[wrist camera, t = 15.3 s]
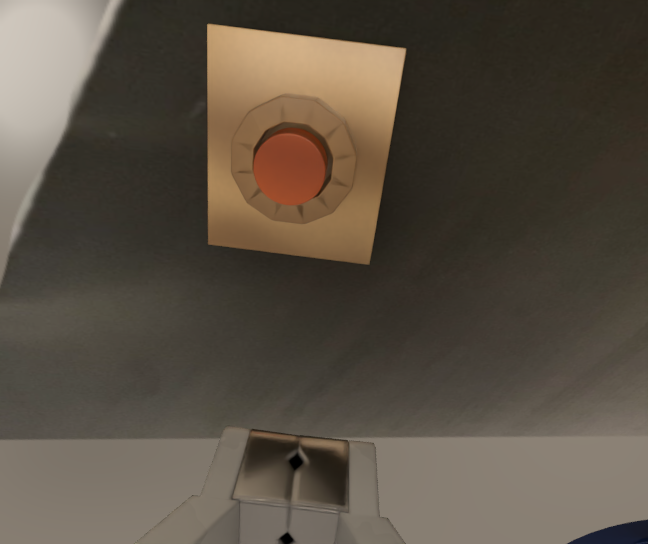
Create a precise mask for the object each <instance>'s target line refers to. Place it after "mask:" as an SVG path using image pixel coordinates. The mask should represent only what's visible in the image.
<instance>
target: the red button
mask: <svg viewBox="0 0 648 544" xmlns="http://www.w3.org/2000/svg"><path fill="white" fill-rule="evenodd" d="M327 165H328V162H327V155H326V152H325V149H324V147H323V145H322V144H321V142H320V141H319V140H318V139H317V138H316V137H315V136H314V135H313V134H311V133H310V132H308V131H306V130H303V129H300V128H284V129H281V130H278V131H276V132H275V133H273V134H272V135H271V136H270V137H269V138H268V139H267V140H266V141H265V142H264V143H263V144H262V145H261V146H260V147H259V149H258V151H257V153H256V155H255V158H254V164H253V171H254V177H255V180H256V182H257V185H258V186H259V188H260V189H261V191H262V192H263V193H264V194H265V195H266V196H267V197H268V198H270V199H271V200H273V201H275V202H277V203H280V204H283V205H299V204H303V203H305V202H307V201H309V200H311V199H312V198H313V197H315V196H316V195H317V194H318V192H319V191H320V189H321V188H322V186H323V183H324V180H325V176H326V172H327Z"/></svg>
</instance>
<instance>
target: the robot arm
mask: <svg viewBox="0 0 648 544" xmlns="http://www.w3.org/2000/svg"><path fill="white" fill-rule="evenodd" d="M377 481H378V480H377V464H376V447H375V445H374V443H369V442H360V441H349V442H348V440H341V439H332V438H322V437H312V436H303V435H300V436H299V435H292V434H285V433H277V432H270V431H263V430H256V429H245V428H238V427H231V426H226V428H225V429H224V431H223V432H222V435H221V438H220V441H219V444H218V446H217V449H216V452H215V455H214V458H213V461H212V464H211V467H210V469H209V472H208V475H207V478H206V481H205V484H204V486H203V489H202V492H201V495H200V496H195V495H192V496H191V497H190V498H188V499H187V500H186V501H185V502H184V503H182V504H181V505H180V506H179V507H178V508H176V509H175V510H174V511H173V512H172V513H170V514H169V515H168V516H167V517H166V518H164V519H163V520H162V521H161V522H160V523H159V524H157V525H156V526H155V527H154V528H152V529H151V530H150V531H149V532H147V533H146V534H145V535H144V536H143V537H141V538H140V539H139V540H138V541H137V542H136V543H134V544H406V543H405V542H404V541H403V539H402V538H401V536H400V535H399V534H398V532H397V531H396V529H395V528H394V527H393V525H392V524H391V522H390V521H389V519H388V518H384V517H380V514H379V497H378V482H377Z"/></svg>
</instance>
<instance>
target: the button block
mask: <svg viewBox="0 0 648 544" xmlns="http://www.w3.org/2000/svg"><path fill="white" fill-rule="evenodd" d="M405 55H406V48H401V47H393V46H385V45H377V44H369V43H360V42H352V41H344V40H336V39H328V38H320V37H312V36H304V35H296V34H288V33H279V32H271V31H263V30H255V29H247V28H239V27H231V26H223V25H215V24H207V98H208V244H209V245H217V246H225V247H233V248H241V249H249V250H257V251H264V252H272V253H280V254H288V255H296V256H304V257H312V258H320V259H327V260H335V261H343V262H351V263H359V264H367V265H369V264H370V259H371V253H372V247H373V241H374V236H375V230H376V224H377V218H378V212H379V207H380V201H381V195H382V189H383V183H384V177H385V172H386V166H387V160H388V154H389V148H390V143H391V137H392V131H393V125H394V119H395V114H396V108H397V102H398V96H399V90H400V85H401V79H402V73H403V67H404V61H405ZM284 128H300V129H303V130H306V131H308V132H310V133H311V134H313V135H314V136H315V137H316V138H317V139H318V140H319V141H320V142H321V144H322V145H323V147H324V149H325V152H326V155H327V162H328V165H327V172H326V176H325V180H324V183H323V186H322V188H321V189H320V191H319V192H318V194H317V195H316V196H315V197H313V198H312V199H311V200H309V201H307V202H305V203H303V204H299V205H283V204H280V203H277V202H275V201H273V200H271V199H270V198H268V197H267V196H266V195H265V194H264V193H263V192H262V191H261V189H260V188H259V186H258V185H257V182H256V180H255V177H254V171H253V164H254V158H255V155H256V153H257V151H258V149H259V147H260V146H261V145H262V144H263V143H264V142H265V141H266V140H267V139H268V138H269V137H270V136H271V135H272V134H273V133H275V132H276V131H278V130H281V129H284Z"/></svg>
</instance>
